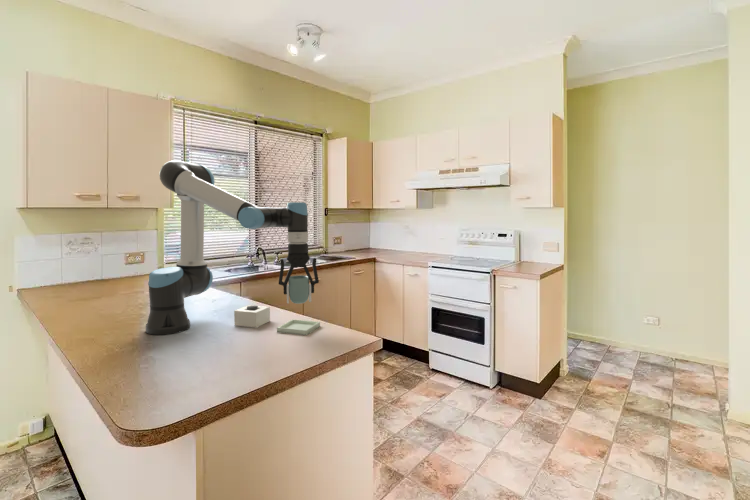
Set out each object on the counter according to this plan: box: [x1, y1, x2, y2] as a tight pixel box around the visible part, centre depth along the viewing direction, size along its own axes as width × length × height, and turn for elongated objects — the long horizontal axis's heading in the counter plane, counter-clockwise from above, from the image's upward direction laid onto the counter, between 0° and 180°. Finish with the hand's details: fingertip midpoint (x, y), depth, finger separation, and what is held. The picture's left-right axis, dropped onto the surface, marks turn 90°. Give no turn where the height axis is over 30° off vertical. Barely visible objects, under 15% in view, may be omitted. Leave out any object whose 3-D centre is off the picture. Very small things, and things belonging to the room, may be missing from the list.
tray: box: [276, 318, 321, 336], centre depth 152 cm, size 12×12×2 cm
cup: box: [287, 274, 310, 305], centre depth 151 cm, size 8×8×10 cm
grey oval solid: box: [247, 305, 259, 311], centre depth 160 cm, size 4×4×6 cm
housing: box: [233, 304, 271, 328], centre depth 160 cm, size 10×10×6 cm
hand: (299, 301), depth 151 cm, fingers closed on cup, 8 cm apart
